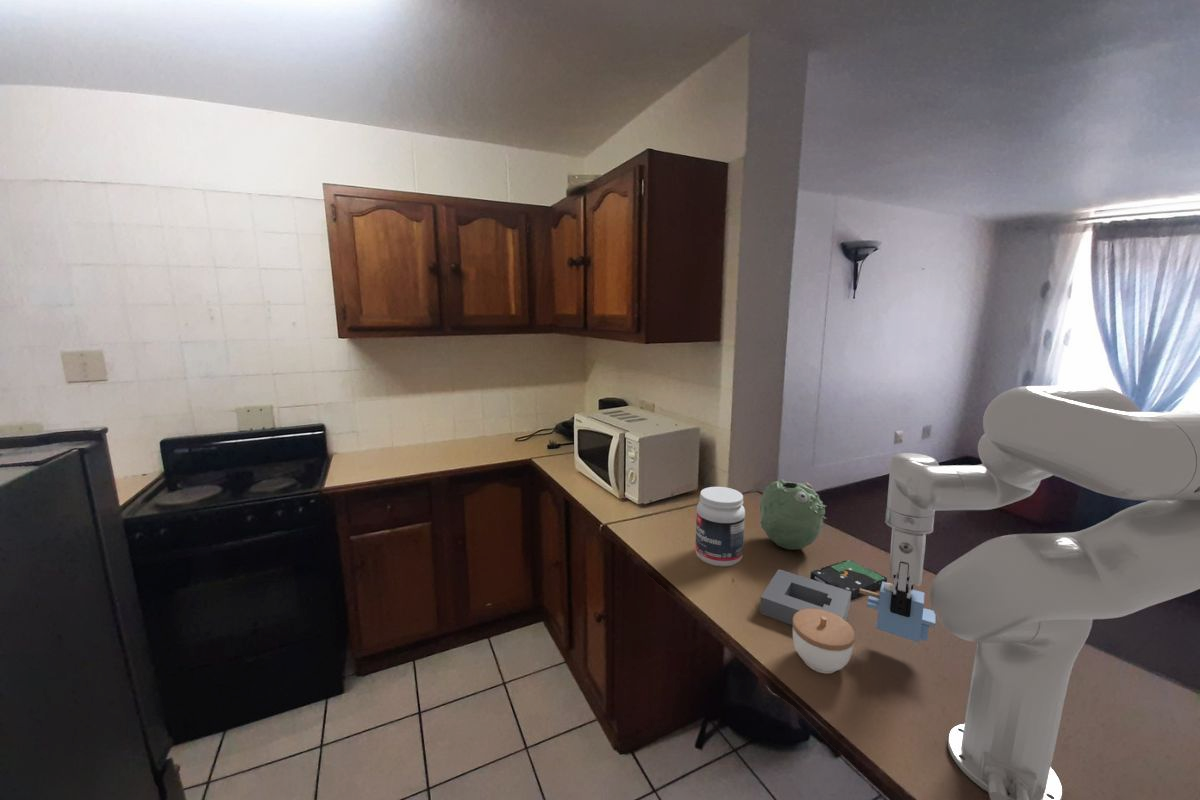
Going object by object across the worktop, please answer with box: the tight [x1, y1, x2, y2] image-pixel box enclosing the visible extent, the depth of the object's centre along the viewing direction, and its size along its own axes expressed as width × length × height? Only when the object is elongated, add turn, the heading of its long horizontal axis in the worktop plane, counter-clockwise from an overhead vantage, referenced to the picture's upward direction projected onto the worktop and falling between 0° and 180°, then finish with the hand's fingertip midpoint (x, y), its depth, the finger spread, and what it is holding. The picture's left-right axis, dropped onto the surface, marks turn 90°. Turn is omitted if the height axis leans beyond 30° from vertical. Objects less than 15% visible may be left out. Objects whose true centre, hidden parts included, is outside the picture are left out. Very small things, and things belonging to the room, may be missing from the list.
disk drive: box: [809, 559, 888, 600], centre depth 114 cm, size 10×3×15 cm
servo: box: [859, 581, 937, 644], centre depth 90 cm, size 13×4×9 cm, turn 53°
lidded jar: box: [792, 609, 856, 675], centre depth 87 cm, size 11×11×9 cm
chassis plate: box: [759, 569, 852, 626], centre depth 103 cm, size 14×16×4 cm
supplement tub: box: [694, 486, 746, 567], centre depth 125 cm, size 13×13×18 cm
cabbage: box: [759, 478, 828, 550], centre depth 130 cm, size 16×19×20 cm
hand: (900, 606), depth 89 cm, fingers closed on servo, 4 cm apart
